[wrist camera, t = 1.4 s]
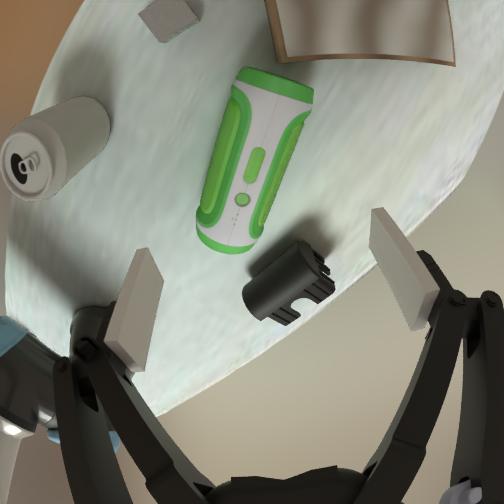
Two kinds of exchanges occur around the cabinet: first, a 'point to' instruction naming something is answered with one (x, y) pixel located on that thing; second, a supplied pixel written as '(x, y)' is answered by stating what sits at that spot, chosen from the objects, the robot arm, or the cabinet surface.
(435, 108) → the cabinet surface
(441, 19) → the stand
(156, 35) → the grey square block
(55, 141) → the can
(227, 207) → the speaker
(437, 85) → the cabinet surface
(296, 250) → the end cap
